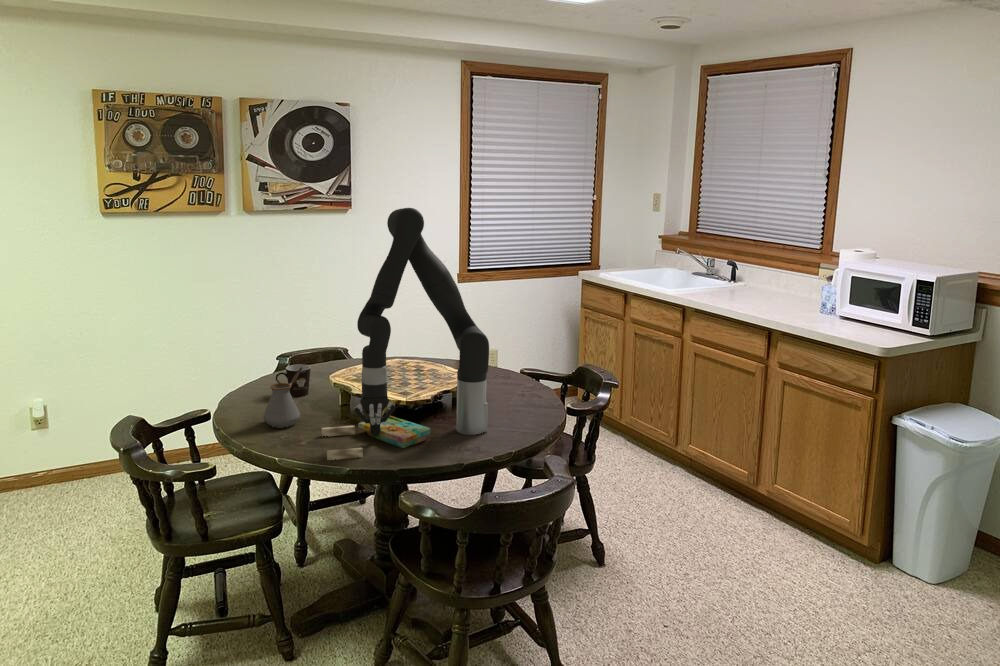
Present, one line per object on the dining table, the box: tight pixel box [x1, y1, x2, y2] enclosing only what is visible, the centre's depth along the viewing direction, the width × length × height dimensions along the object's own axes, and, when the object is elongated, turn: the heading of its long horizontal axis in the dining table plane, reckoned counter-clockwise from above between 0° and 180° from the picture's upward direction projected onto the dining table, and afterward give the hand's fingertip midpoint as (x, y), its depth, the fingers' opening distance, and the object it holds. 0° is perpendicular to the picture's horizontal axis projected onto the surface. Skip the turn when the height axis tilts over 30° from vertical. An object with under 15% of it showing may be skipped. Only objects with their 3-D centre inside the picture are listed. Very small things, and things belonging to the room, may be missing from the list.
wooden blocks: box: [321, 425, 364, 461], centre depth 230 cm, size 10×20×2 cm, turn 17°
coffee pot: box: [262, 367, 305, 429], centre depth 250 cm, size 21×12×15 cm, turn 168°
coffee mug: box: [275, 364, 312, 398], centre depth 277 cm, size 12×9×10 cm
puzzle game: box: [357, 415, 432, 449], centre depth 238 cm, size 12×5×20 cm
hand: (375, 435), depth 232 cm, fingers closed
